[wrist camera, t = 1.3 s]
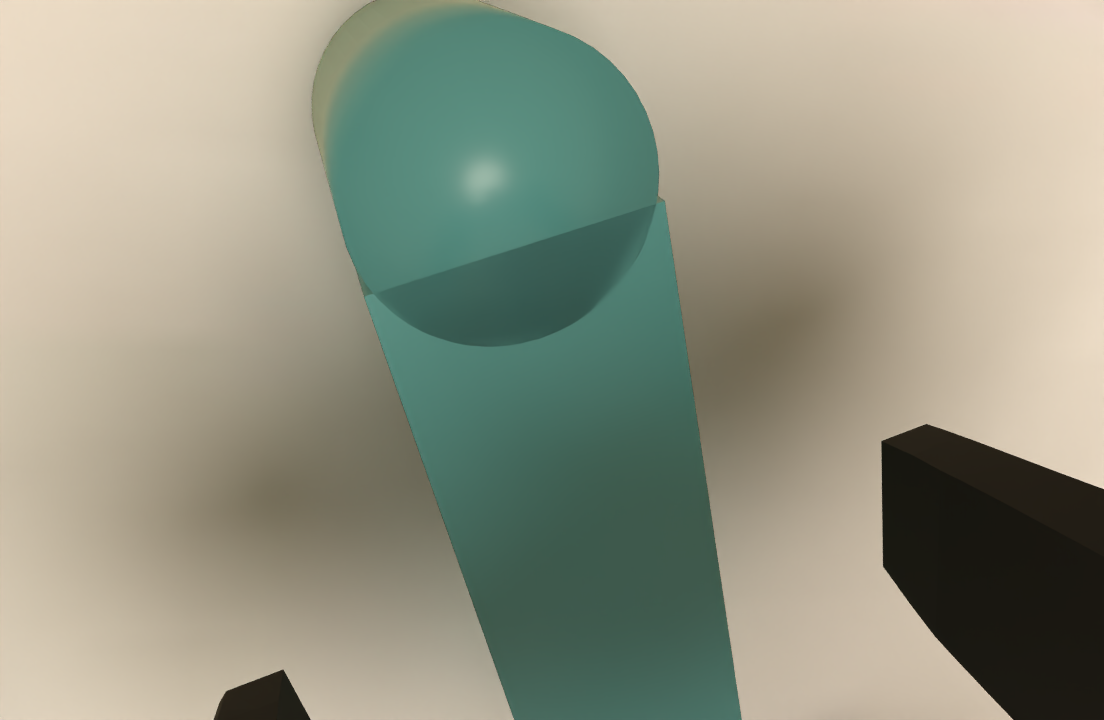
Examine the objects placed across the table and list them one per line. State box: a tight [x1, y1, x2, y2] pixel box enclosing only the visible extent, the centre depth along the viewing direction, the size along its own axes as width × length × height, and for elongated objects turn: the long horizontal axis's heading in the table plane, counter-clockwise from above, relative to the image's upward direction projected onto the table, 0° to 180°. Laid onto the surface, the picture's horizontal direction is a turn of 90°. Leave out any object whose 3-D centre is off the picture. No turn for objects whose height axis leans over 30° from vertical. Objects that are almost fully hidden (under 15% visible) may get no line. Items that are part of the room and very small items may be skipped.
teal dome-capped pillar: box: [312, 0, 742, 720], centre depth 12 cm, size 13×3×4 cm, turn 12°
